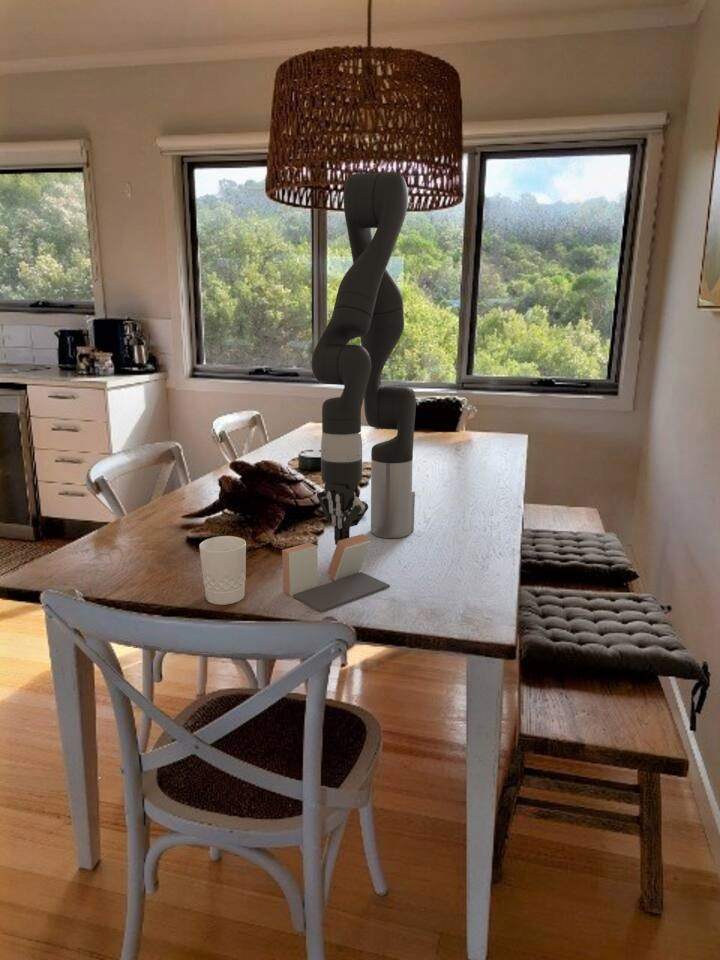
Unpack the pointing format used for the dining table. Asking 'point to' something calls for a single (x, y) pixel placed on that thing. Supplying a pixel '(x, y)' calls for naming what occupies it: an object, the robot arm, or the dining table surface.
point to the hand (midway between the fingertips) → (341, 545)
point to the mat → (340, 591)
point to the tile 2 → (348, 556)
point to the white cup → (223, 569)
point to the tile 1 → (300, 568)
